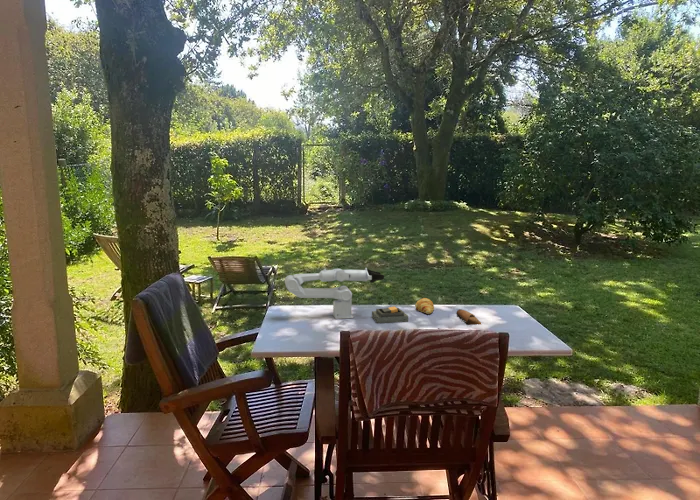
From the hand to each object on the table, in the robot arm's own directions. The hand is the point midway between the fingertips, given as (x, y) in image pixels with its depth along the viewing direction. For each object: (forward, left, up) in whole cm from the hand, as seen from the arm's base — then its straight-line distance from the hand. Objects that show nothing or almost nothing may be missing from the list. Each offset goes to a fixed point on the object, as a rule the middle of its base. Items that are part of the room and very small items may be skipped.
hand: (382, 275), depth 278 cm
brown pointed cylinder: (+43, -16, -22) cm, 51 cm away
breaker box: (+2, -8, -21) cm, 23 cm away
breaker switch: (+2, -8, -17) cm, 19 cm away
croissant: (+26, +6, -22) cm, 34 cm away
